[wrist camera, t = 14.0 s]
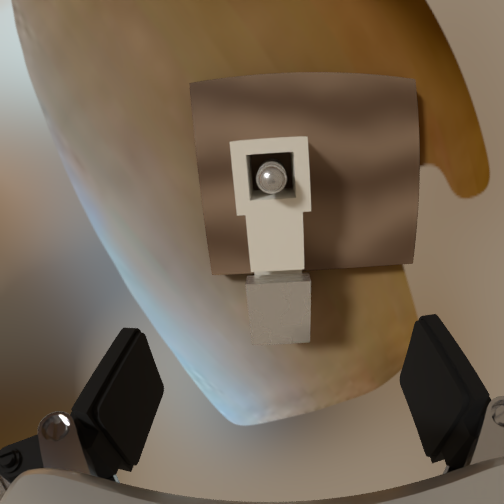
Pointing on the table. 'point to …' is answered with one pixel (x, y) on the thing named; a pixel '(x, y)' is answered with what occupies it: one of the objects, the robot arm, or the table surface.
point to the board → (316, 162)
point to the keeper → (279, 308)
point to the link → (273, 206)
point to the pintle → (271, 176)
